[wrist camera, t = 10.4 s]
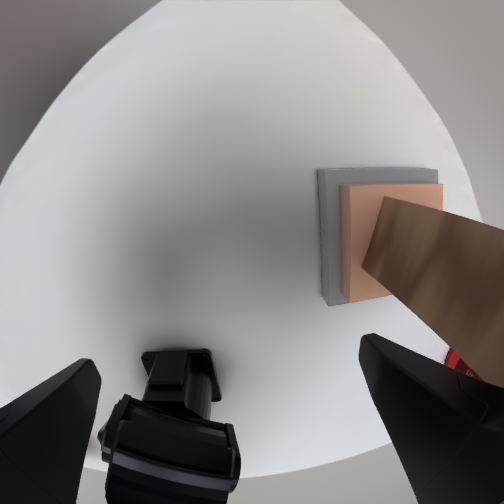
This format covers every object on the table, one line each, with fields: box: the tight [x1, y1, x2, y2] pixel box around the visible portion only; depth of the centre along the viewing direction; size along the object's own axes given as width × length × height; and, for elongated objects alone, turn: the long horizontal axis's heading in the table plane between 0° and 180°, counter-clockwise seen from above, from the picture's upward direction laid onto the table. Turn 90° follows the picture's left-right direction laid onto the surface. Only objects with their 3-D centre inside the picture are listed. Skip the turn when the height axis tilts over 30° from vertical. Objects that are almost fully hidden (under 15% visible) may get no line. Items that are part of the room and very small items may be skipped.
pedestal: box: [317, 168, 443, 306], centre depth 19 cm, size 10×10×4 cm
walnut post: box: [362, 196, 504, 388], centre depth 11 cm, size 5×5×13 cm
